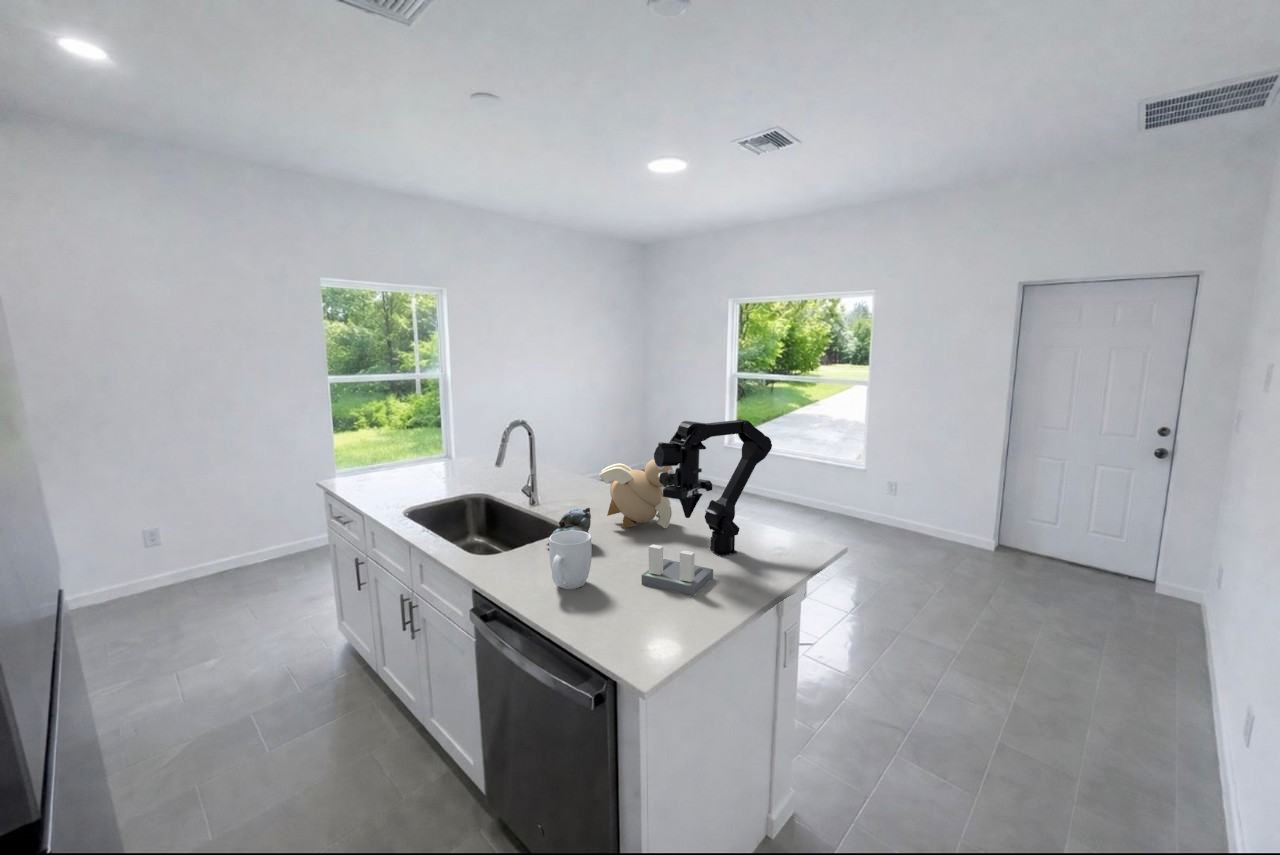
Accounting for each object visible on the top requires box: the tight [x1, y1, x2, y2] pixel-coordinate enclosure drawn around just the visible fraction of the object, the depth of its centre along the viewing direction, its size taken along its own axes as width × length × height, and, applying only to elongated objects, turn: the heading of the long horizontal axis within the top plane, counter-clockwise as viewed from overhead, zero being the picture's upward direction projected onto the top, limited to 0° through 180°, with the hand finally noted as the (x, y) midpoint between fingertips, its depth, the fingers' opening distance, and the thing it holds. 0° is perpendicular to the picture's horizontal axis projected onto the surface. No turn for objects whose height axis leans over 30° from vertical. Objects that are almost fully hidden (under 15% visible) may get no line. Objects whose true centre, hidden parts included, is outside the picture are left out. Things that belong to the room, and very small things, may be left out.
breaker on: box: [679, 550, 696, 582], centre depth 138 cm, size 2×3×7 cm, turn 60°
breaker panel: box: [641, 558, 714, 597], centre depth 145 cm, size 13×15×3 cm
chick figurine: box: [598, 458, 675, 529], centre depth 191 cm, size 30×28×23 cm
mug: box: [548, 530, 593, 590], centre depth 140 cm, size 15×11×13 cm
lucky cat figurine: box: [546, 507, 592, 547], centre depth 171 cm, size 15×12×14 cm
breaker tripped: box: [648, 543, 664, 575], centre depth 143 cm, size 2×3×7 cm, turn 60°
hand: (687, 517), depth 158 cm, fingers closed
